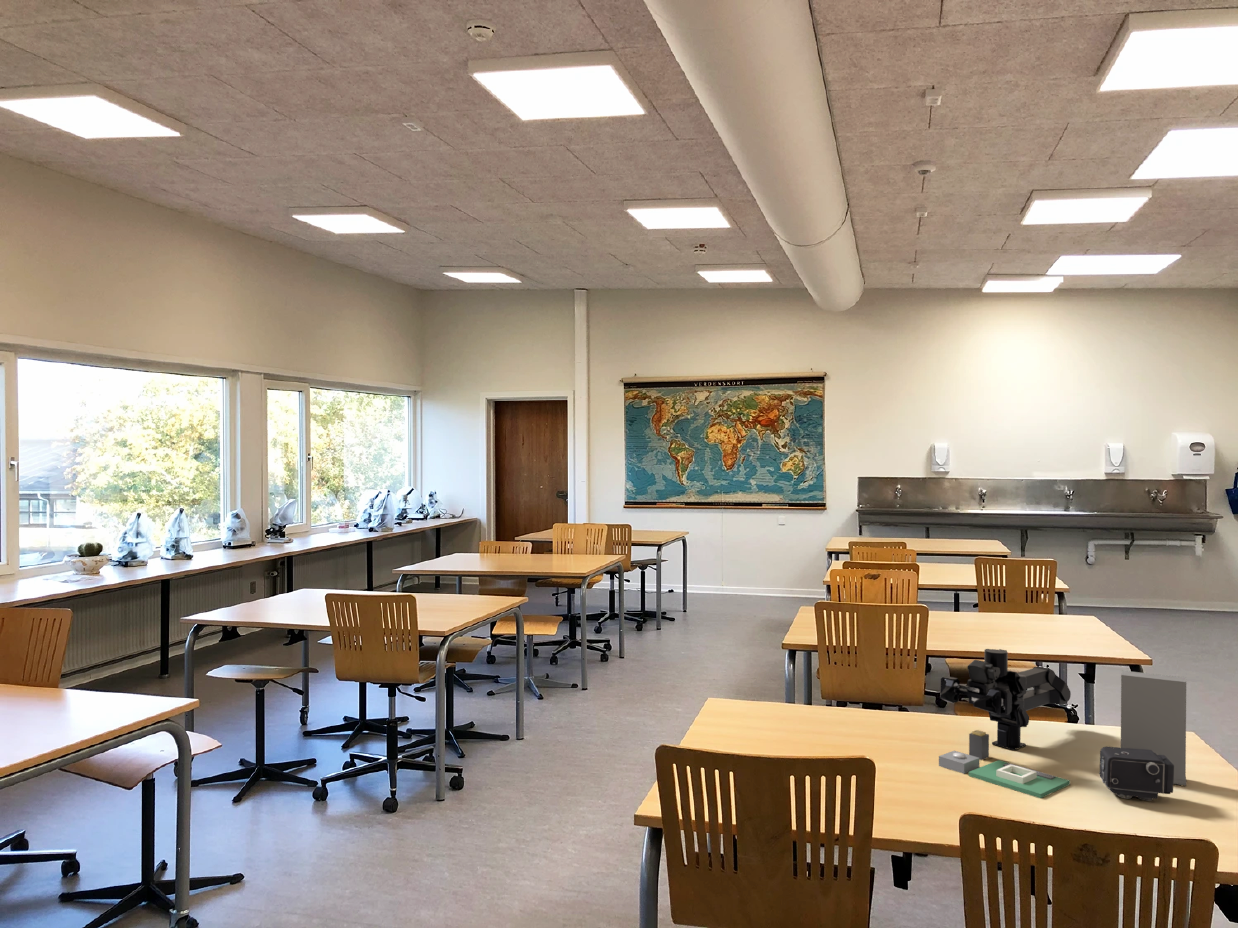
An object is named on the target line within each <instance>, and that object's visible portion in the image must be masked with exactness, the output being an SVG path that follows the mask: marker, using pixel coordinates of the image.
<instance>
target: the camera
mask: <svg viewBox="0 0 1238 928" xmlns="http://www.w3.org/2000/svg"><path fill="white" fill-rule="evenodd" d="M1098 775H1099V778H1100V780H1101V781H1102V783H1103V784H1104V785H1105V786H1106V788H1107V789H1108V790H1109V791H1110V792H1111V793H1113V794H1114V795H1116V796H1118V797H1119V798H1122V799H1128V800H1129V799H1132V798H1133V797H1137V798H1138V799H1140V800H1143V801H1147V802H1148V801H1149V802H1150V801H1153V800H1154V799H1158V797H1159V794H1163V795H1171V794H1173V793H1174V784H1173V781H1174V765H1173V764H1172V763H1171V761H1170V760H1169V759H1168V758H1167V757H1166V756H1165V755H1157V754H1156V753H1154V752H1153V751H1152V750H1147V749H1132V748H1121V747H1119V746H1115V747H1113V746H1103V747H1102V748H1100V751H1099V772H1098Z"/></svg>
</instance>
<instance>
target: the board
mask: <svg viewBox="0 0 1238 928" xmlns="http://www.w3.org/2000/svg"><path fill="white" fill-rule="evenodd" d="M968 776H969V777H971V778H974V779H977V780H980V781H983V782H986V783H990V784H993V785H997V786H1000V787H1003V788H1006V789H1009V790H1013V791H1016V792H1019V793H1023V794H1026V795H1029V796H1032V797H1036V798H1038V799H1043V798H1044V797H1047V796H1048V795H1051V794H1053V793H1056V792H1058V791H1059V790H1061V789H1063V788H1066V787H1068V786H1070V785H1071V780H1069V779H1065V778H1063V777H1059V776H1056V775H1053V774H1049V773H1045V772H1042V771H1038V770H1034V769H1031V768H1028V767H1024V766H1022V765H1021V766H1020V765H1017V764H1013V763H1011V762H1007V761H1004V760H1000V759H998V760H996V761H992V762H990V763H988V764H987V763H986V764H985V765H982V766H979V768H977V769H975V770H972V771H970V772H968Z"/></svg>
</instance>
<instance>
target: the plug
mask: <svg viewBox="0 0 1238 928" xmlns="http://www.w3.org/2000/svg"><path fill="white" fill-rule="evenodd" d="M968 736H969V738H968V755H971V756H975V757H978V758H979V761H983V760H986V759H988V758H990V756H989V755H990V734H988V733H987V732H986V731H984V730H979V729H976V730H974V731H972V732H970V733H968Z"/></svg>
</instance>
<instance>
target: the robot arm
mask: <svg viewBox="0 0 1238 928" xmlns="http://www.w3.org/2000/svg"><path fill="white" fill-rule="evenodd" d="M983 652H984V657H983V658H984V661H983V660H980V659H974V660H972V661H971V662H970V663H969V664H968V665H967V667H966V668H967V670H968V675H969V679H967V685H964V684H961V683H960V682H961V681H960V679H959V678H957V677H954V676H948V675H946V676H943V677H941V678H940V694H939V695H940V699H941V700H942V701H945V702H947V703H951V704H955V703H958V702H959V699H960V696H961V695H964V696H967V698H968V704H970V705H971V704H972V705H973V708H977V709H980V710H983V711H986V712H988V715H989V720H990V721H991V722H996V723H997V727H996V728H997V731H996V734H997V735H996V738H997V740H994V741H992V742H991V745H993V746H994V745H995V746H998V747H1001V748H1005V749H1009V750H1012V751H1015V750H1019V749H1021V748H1024V747H1026V746H1027V744H1026V743H1025V742H1021V735H1022V734H1021V728H1027V727H1028V725H1029V723H1030V715H1029V713H1027V711H1030V710H1033V709H1036V708H1038V707H1041V706H1045V705H1047V704H1050V705H1051V704H1052V705H1063V706H1064V705H1066V704H1067V703H1068V702H1069V701H1070V699H1071V695H1072V694H1071V690H1070V688H1069V686H1068V684H1067V682H1065V681H1064V680H1063V679H1062V678H1061V677H1060V676H1058V675H1057V674H1056V672H1055V670H1052V669H1051V668H1048V667H1043V666H1034V667H1032V668H1030V669H1027V670H1023V671H1019V672H1017V671H1012V670H1008V669H1009V668H1008V664H1009V663H1008V659H1009V656H1008V653H1009V652H1008V651H1007V649H1001V648H999V649H996V648H995V649H993V648H992V649H991V648H985V649H984V651H983ZM1031 688H1033V689H1031ZM1028 689H1029V690H1028Z"/></svg>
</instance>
